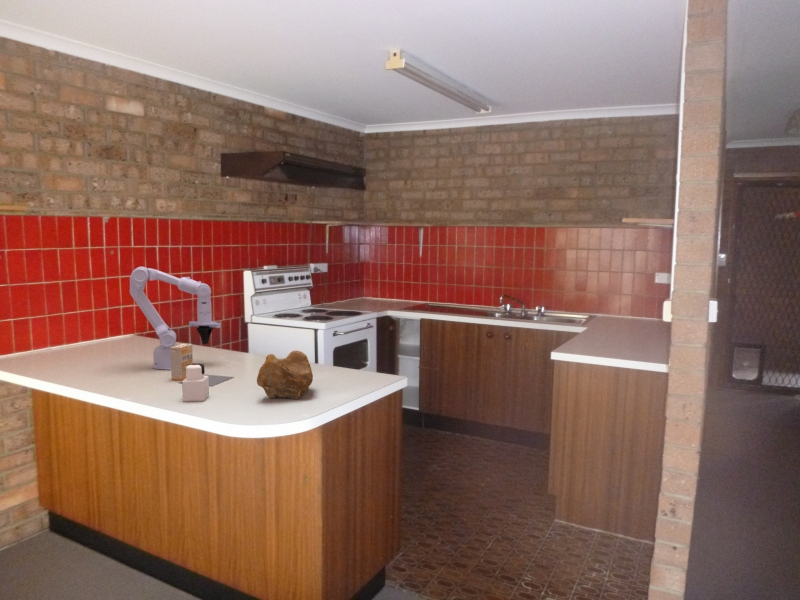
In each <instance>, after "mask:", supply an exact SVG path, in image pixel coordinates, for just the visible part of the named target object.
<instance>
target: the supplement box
mask: <svg viewBox="0 0 800 600" xmlns="http://www.w3.org/2000/svg"><path fill="white" fill-rule="evenodd" d="M170 352H171V370H170V372H171V373H170V374H171V381H178V382H181V381H183V380H184V379H186V378H187V377H186V366H187V365H189V364H194V363H193V360H194V358H193V343H180V344H177V346H173V347H170Z"/></svg>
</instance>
